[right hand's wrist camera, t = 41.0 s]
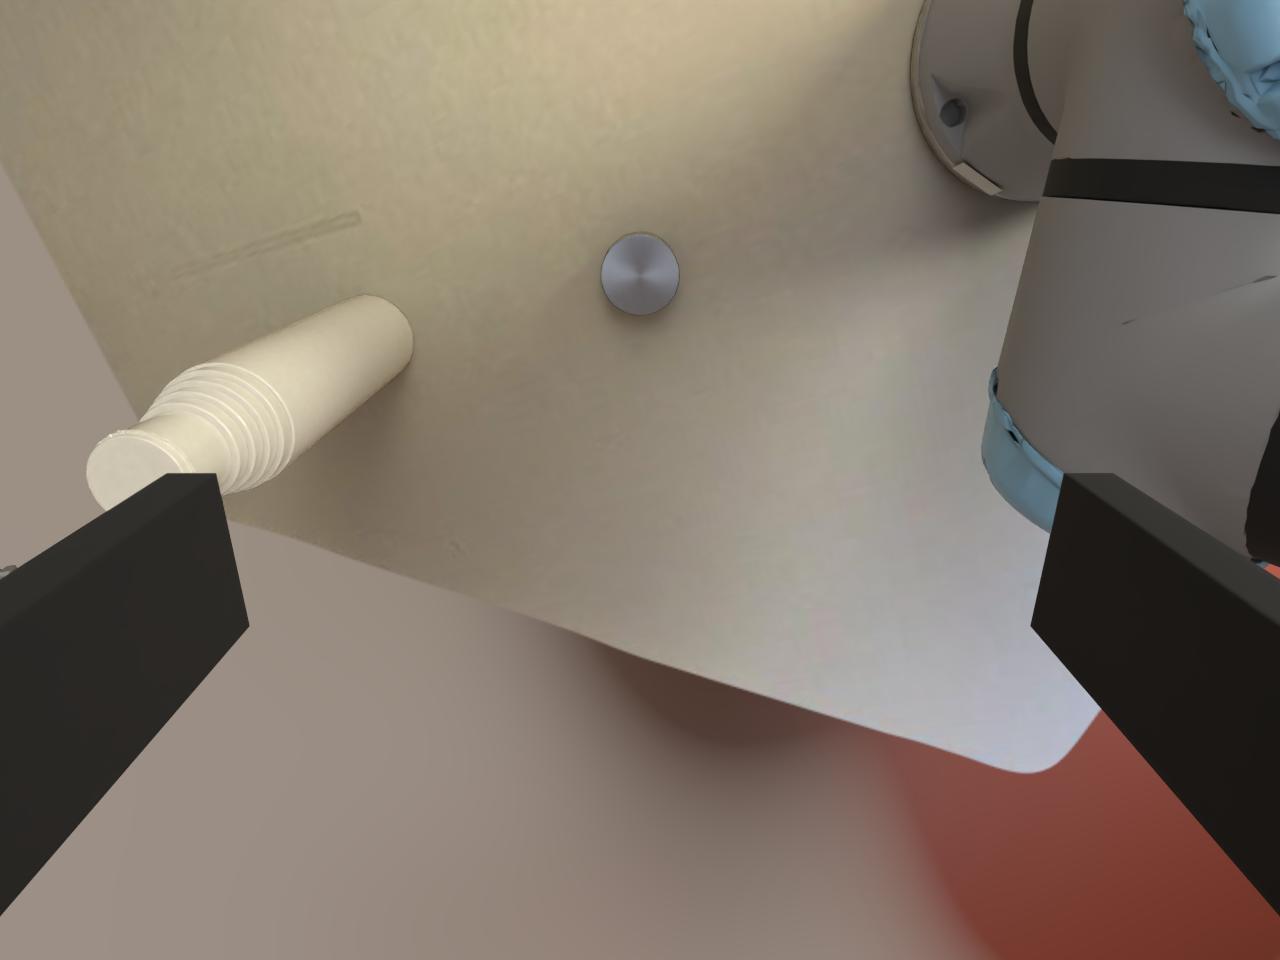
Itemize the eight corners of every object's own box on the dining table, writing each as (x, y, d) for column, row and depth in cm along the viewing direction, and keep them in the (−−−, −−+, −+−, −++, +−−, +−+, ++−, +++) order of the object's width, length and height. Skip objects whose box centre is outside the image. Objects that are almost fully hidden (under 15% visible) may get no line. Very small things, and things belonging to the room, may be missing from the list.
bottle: (309, 324, 48) (19, 459, 25) (378, 278, 47) (137, 376, 24) (364, 395, 50) (137, 580, 27) (431, 352, 48) (251, 508, 26)
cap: (677, 308, 47) (679, 314, 45) (603, 309, 48) (601, 316, 45) (678, 231, 46) (679, 234, 44) (601, 232, 46) (599, 235, 44)
